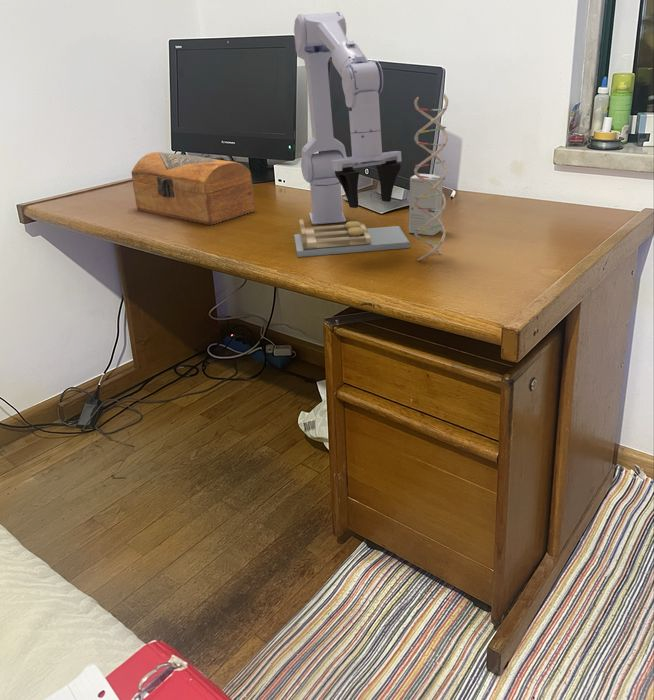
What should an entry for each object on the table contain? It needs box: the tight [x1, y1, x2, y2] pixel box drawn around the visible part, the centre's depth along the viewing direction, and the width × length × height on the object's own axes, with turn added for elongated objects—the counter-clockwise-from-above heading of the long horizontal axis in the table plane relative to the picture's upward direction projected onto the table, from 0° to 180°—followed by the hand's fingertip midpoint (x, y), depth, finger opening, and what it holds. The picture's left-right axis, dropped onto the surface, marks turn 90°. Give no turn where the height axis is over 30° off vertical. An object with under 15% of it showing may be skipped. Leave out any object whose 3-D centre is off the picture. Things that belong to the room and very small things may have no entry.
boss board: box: [293, 220, 411, 258], centre depth 144 cm, size 12×23×4 cm, turn 95°
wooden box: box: [131, 151, 256, 226], centre depth 174 cm, size 30×16×14 cm, turn 48°
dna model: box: [413, 93, 449, 262], centre depth 128 cm, size 7×6×30 cm
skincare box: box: [408, 173, 444, 236], centre depth 147 cm, size 6×4×12 cm
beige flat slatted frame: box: [299, 218, 371, 249], centre depth 144 cm, size 11×14×3 cm
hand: (370, 204), depth 134 cm, fingers open, 7 cm apart
